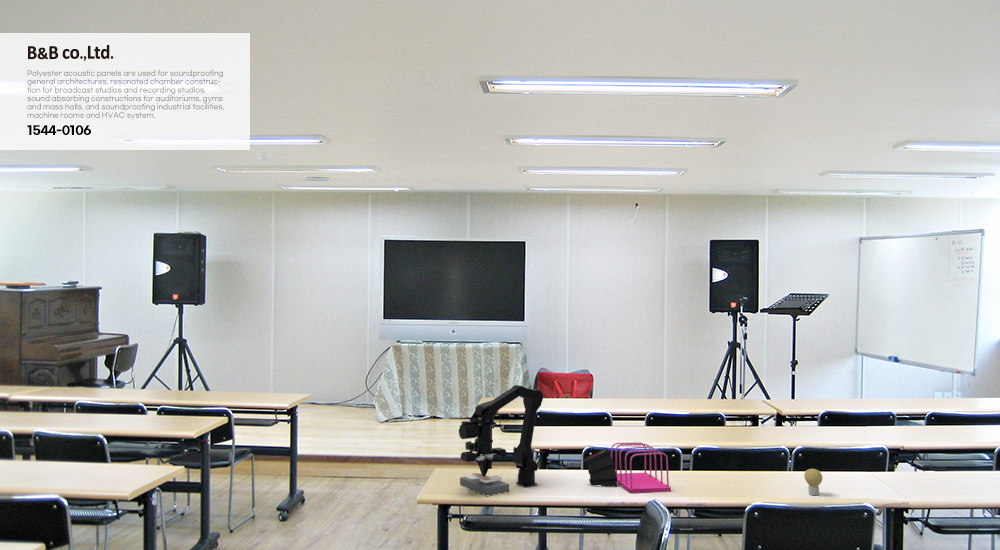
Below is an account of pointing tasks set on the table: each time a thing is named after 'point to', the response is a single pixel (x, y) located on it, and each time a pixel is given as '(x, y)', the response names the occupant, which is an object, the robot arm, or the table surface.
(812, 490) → the light bulb
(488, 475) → the rocker
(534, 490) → the table surface
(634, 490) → the file sorter
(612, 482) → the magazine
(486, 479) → the rocker
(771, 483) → the table surface
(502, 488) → the rocker switch panel
